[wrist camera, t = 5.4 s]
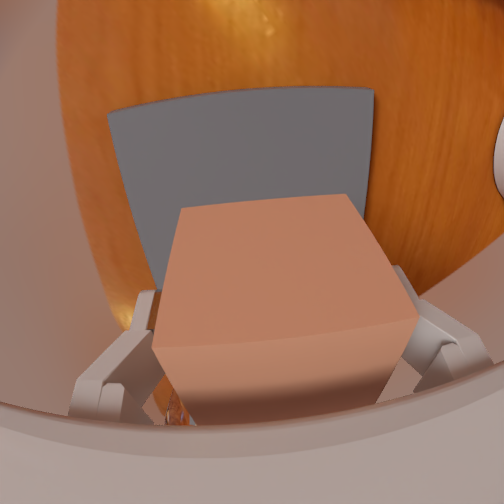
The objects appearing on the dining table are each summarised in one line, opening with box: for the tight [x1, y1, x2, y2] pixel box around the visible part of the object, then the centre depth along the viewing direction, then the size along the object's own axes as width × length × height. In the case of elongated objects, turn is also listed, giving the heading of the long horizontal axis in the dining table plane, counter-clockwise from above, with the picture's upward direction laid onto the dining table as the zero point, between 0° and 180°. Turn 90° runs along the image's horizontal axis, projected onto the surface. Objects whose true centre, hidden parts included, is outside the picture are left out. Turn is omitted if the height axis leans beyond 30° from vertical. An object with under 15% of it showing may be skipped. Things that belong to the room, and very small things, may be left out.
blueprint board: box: [107, 86, 374, 289], centre depth 26 cm, size 20×20×1 cm
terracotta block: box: [152, 194, 420, 426], centre depth 9 cm, size 5×5×5 cm
